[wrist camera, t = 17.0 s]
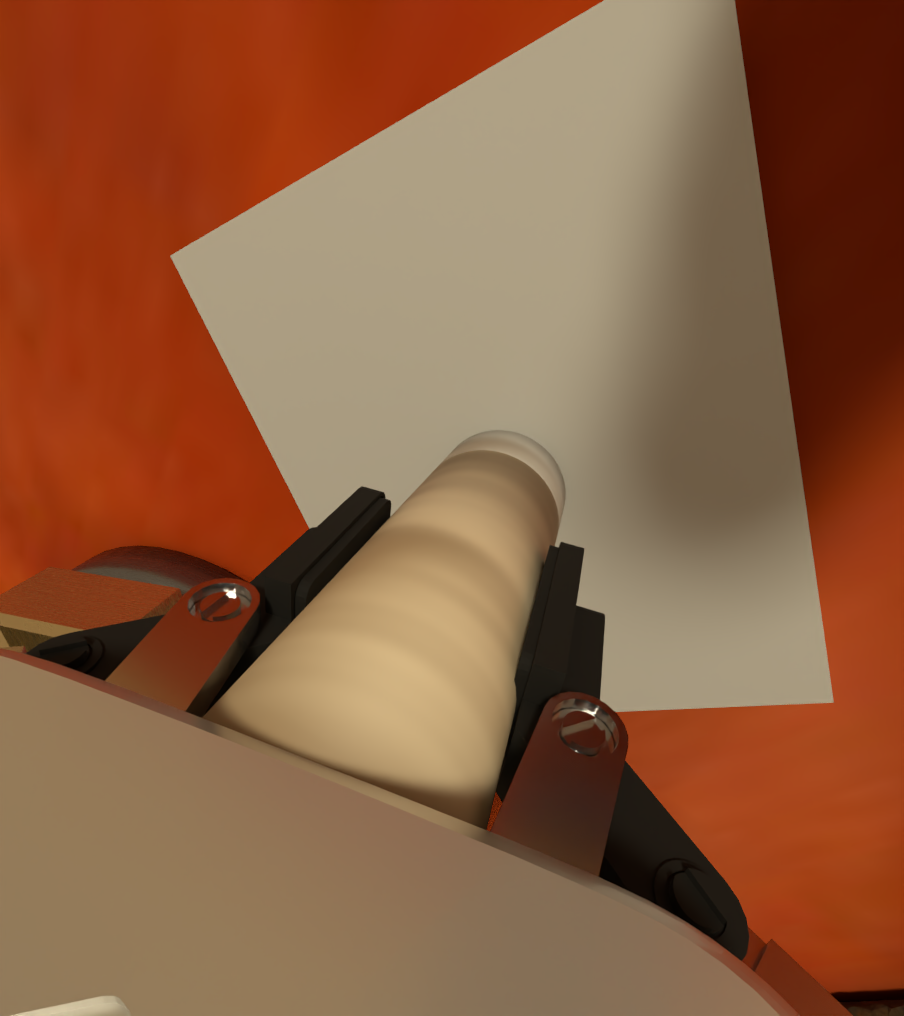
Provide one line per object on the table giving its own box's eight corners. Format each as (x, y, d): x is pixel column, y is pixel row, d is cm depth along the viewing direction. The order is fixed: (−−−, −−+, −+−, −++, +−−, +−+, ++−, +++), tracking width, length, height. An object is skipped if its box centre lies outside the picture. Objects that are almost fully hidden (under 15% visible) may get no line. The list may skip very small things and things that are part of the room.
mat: (823, 680, 18) (833, 702, 17) (415, 703, 24) (407, 720, 23) (717, -47, 11) (724, -71, 10) (192, 255, 18) (170, 255, 17)
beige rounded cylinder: (510, 570, 18) (343, 1018, 7) (417, 494, 17) (105, 836, 7) (593, 489, 16) (538, 941, 5) (490, 402, 15) (212, 683, 5)
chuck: (378, 838, 30) (309, 1002, 23) (128, 765, 35) (15, 885, 28) (332, 571, 22) (207, 711, 15) (15, 527, 27) (-179, 618, 20)
